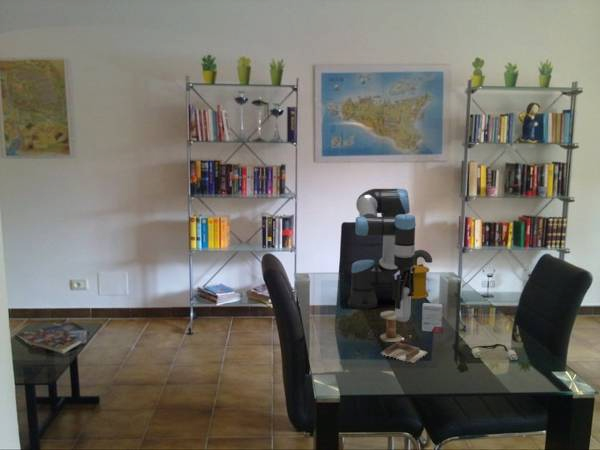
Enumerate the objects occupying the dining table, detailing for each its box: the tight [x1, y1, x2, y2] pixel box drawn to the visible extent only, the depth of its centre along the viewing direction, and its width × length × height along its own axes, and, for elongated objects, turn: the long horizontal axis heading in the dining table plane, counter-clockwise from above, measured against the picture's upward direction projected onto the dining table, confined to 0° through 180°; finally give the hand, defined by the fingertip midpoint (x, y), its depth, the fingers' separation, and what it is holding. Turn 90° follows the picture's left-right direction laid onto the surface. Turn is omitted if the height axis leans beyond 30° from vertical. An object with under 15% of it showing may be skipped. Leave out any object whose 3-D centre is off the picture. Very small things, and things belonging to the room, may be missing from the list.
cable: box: [471, 343, 518, 361], centre depth 197 cm, size 16×16×4 cm
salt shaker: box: [396, 287, 412, 323], centre depth 190 cm, size 6×6×13 cm
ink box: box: [421, 302, 443, 333], centre depth 221 cm, size 9×5×12 cm, turn 71°
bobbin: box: [379, 310, 403, 343], centre depth 210 cm, size 9×9×11 cm
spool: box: [411, 264, 430, 300], centre depth 276 cm, size 18×18×15 cm
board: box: [380, 342, 428, 364], centre depth 195 cm, size 14×12×3 cm
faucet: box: [413, 249, 433, 266], centre depth 302 cm, size 18×16×20 cm
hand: (402, 314), depth 191 cm, fingers closed on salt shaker, 6 cm apart
